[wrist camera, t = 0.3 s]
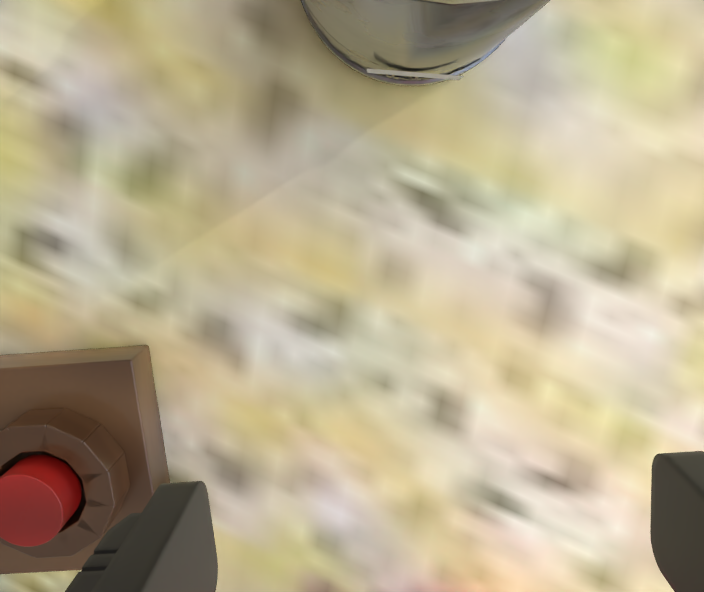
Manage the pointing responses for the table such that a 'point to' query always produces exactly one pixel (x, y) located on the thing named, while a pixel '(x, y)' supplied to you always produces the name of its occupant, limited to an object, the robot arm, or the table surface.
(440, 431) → the table surface
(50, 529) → the button
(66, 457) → the panel
